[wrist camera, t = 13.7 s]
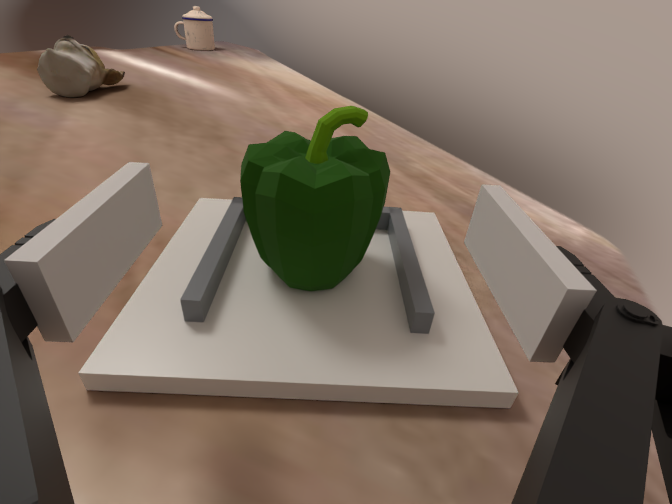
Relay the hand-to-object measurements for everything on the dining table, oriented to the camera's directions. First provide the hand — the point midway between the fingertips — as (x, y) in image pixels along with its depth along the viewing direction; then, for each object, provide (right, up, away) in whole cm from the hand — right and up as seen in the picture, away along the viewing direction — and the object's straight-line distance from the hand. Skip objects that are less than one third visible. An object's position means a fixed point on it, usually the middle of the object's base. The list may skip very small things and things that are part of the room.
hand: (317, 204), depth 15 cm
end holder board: (-1, -4, +10) cm, 11 cm away
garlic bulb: (-43, +26, +50) cm, 70 cm away
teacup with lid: (-45, +64, +108) cm, 133 cm away
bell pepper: (-1, -3, +9) cm, 10 cm away
